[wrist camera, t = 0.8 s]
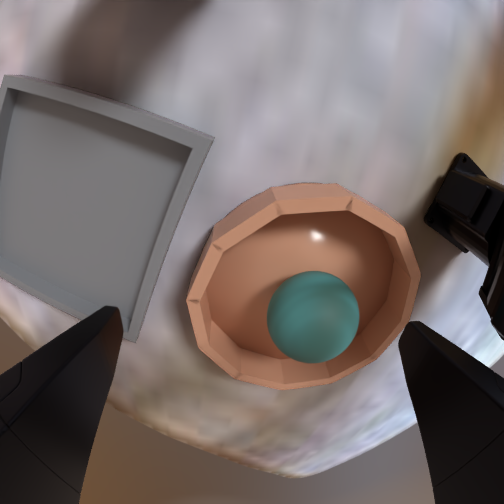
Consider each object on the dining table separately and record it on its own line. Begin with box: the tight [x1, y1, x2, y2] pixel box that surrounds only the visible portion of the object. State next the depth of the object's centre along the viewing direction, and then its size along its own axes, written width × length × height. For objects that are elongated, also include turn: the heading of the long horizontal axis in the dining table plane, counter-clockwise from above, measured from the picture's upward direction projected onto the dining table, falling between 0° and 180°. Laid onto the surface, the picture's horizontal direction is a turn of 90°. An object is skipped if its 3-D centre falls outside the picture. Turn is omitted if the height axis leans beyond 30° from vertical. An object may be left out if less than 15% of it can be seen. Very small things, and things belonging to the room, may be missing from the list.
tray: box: [0, 75, 215, 343], centre depth 17 cm, size 16×16×2 cm
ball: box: [267, 271, 359, 363], centre depth 19 cm, size 6×6×6 cm
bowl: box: [186, 183, 421, 390], centre depth 20 cm, size 16×16×3 cm
